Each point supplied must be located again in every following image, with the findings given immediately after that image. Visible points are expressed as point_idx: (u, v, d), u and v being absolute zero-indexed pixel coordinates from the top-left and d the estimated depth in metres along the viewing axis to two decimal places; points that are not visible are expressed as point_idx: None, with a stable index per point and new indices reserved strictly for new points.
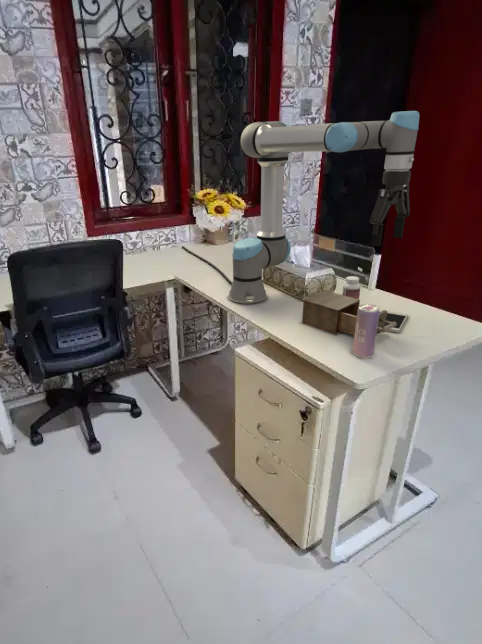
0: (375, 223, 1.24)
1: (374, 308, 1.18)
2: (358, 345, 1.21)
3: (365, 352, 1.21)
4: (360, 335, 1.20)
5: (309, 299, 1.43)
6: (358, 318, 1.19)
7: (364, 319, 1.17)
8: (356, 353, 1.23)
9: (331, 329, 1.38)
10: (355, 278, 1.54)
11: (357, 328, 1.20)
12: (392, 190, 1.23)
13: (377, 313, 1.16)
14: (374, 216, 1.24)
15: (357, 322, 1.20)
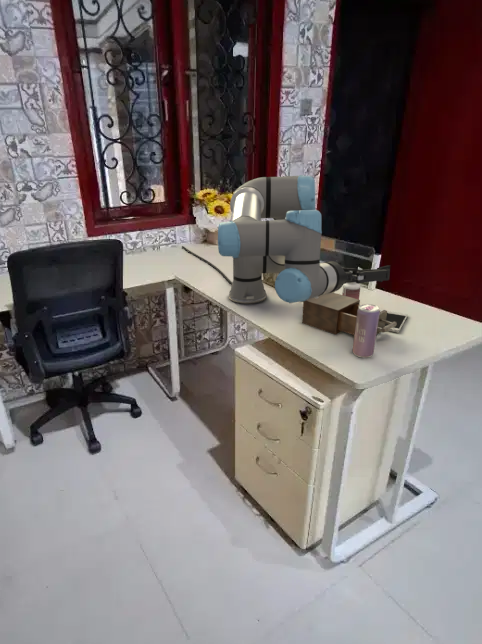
0: None
1: (374, 308, 1.18)
2: (358, 345, 1.21)
3: (365, 352, 1.21)
4: (360, 335, 1.20)
5: (309, 299, 1.43)
6: (358, 318, 1.19)
7: (364, 319, 1.17)
8: (356, 353, 1.23)
9: (331, 329, 1.38)
10: None
11: (357, 328, 1.20)
12: None
13: (377, 313, 1.16)
14: None
15: (357, 322, 1.20)
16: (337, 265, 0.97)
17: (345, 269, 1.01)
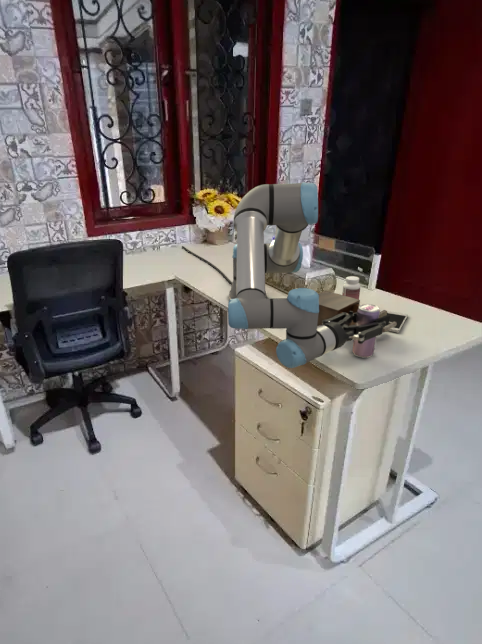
0: None
1: (374, 308, 1.18)
2: (358, 345, 1.21)
3: (365, 352, 1.21)
4: None
5: None
6: (358, 318, 1.19)
7: (364, 319, 1.17)
8: (356, 353, 1.23)
9: None
10: (355, 278, 1.54)
11: None
12: None
13: (377, 313, 1.16)
14: None
15: (357, 322, 1.20)
16: (338, 328, 1.09)
17: (348, 328, 1.12)
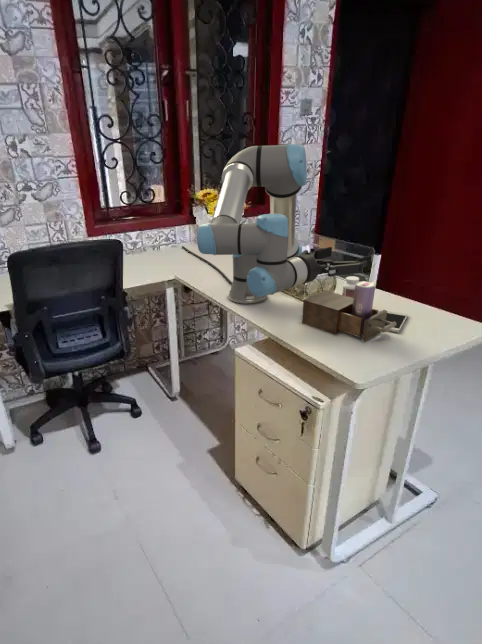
0: None
1: (370, 284, 1.29)
2: None
3: (362, 325, 1.33)
4: (357, 309, 1.31)
5: (309, 299, 1.43)
6: (355, 294, 1.31)
7: (360, 294, 1.29)
8: None
9: (331, 329, 1.38)
10: (355, 278, 1.54)
11: (354, 303, 1.32)
12: None
13: (373, 289, 1.28)
14: None
15: (354, 297, 1.31)
16: (311, 259, 1.08)
17: (321, 261, 1.11)
